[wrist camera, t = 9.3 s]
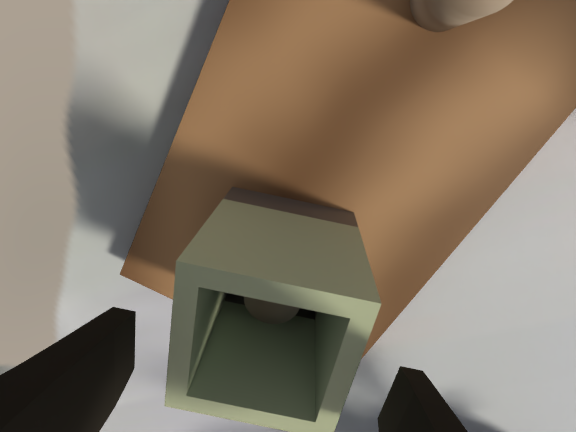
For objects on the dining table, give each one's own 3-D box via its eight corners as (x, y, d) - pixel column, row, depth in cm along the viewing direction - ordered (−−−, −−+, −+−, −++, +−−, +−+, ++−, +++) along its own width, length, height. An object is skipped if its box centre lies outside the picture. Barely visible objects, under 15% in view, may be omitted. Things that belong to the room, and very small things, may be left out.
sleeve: (354, 212, 14) (381, 303, 8) (324, 311, 16) (331, 440, 10) (232, 186, 14) (176, 261, 8) (218, 288, 15) (164, 406, 10)
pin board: (671, -39, 11) (868, -104, 7) (341, 361, 18) (348, 439, 14) (354, -278, 9) (382, -527, 6) (132, 261, 17) (77, 316, 13)
